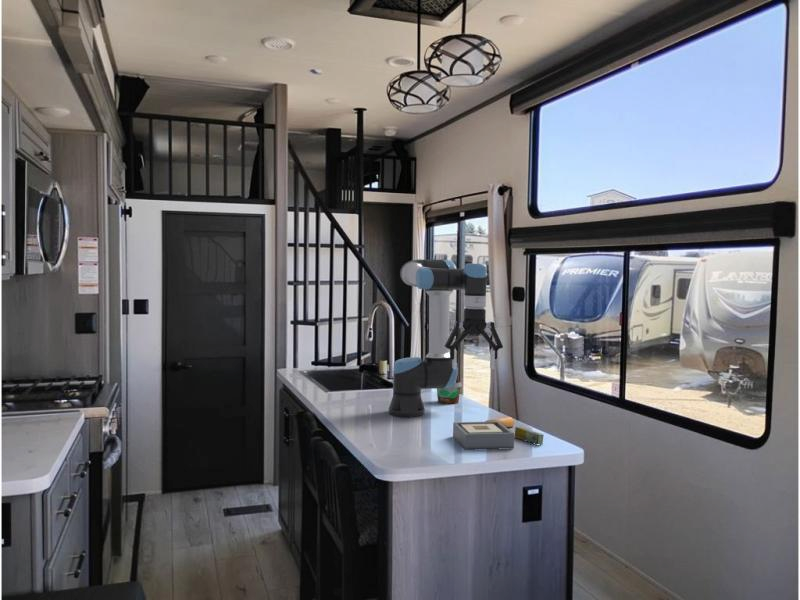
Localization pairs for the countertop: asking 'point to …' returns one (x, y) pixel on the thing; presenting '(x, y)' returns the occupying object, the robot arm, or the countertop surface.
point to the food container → (449, 394)
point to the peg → (504, 421)
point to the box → (483, 435)
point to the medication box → (528, 435)
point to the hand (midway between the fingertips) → (473, 368)
